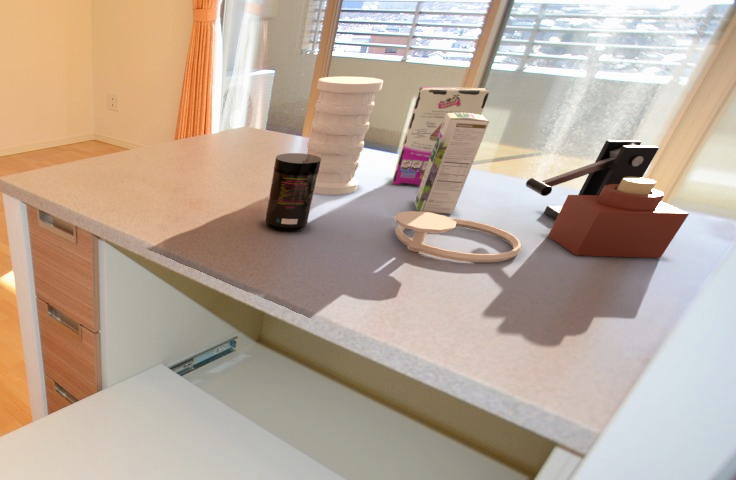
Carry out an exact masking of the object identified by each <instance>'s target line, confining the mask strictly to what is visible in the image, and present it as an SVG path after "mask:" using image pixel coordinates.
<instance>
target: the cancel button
mask: <svg viewBox="0 0 736 480" xmlns="http://www.w3.org/2000/svg"><path fill="white" fill-rule="evenodd" d="M656 185H657V181H656V180H654V179H650V178H647V177H642V178H641V177H624V178H623V179H622V181H621V183H620V184H619V186H618V188H617V190H618V191H621V192H625V193H631V194H638V195H649V194H650V192H651V191H652V189H654V187H655V186H656Z"/></svg>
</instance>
